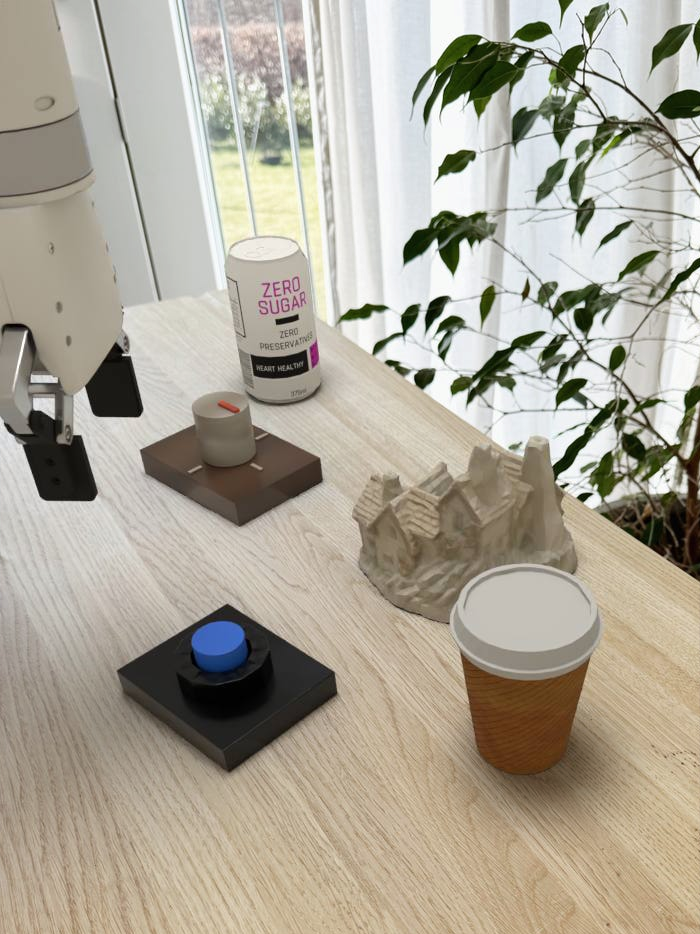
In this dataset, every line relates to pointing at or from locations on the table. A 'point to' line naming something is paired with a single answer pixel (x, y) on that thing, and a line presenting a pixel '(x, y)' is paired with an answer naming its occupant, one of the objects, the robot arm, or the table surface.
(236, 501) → the panel
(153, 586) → the table surface
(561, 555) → the ceramic cottage
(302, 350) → the white soda can
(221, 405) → the dimmer knob
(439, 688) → the table surface
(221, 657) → the light button
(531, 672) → the disposable coffee cup
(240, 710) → the switch block
